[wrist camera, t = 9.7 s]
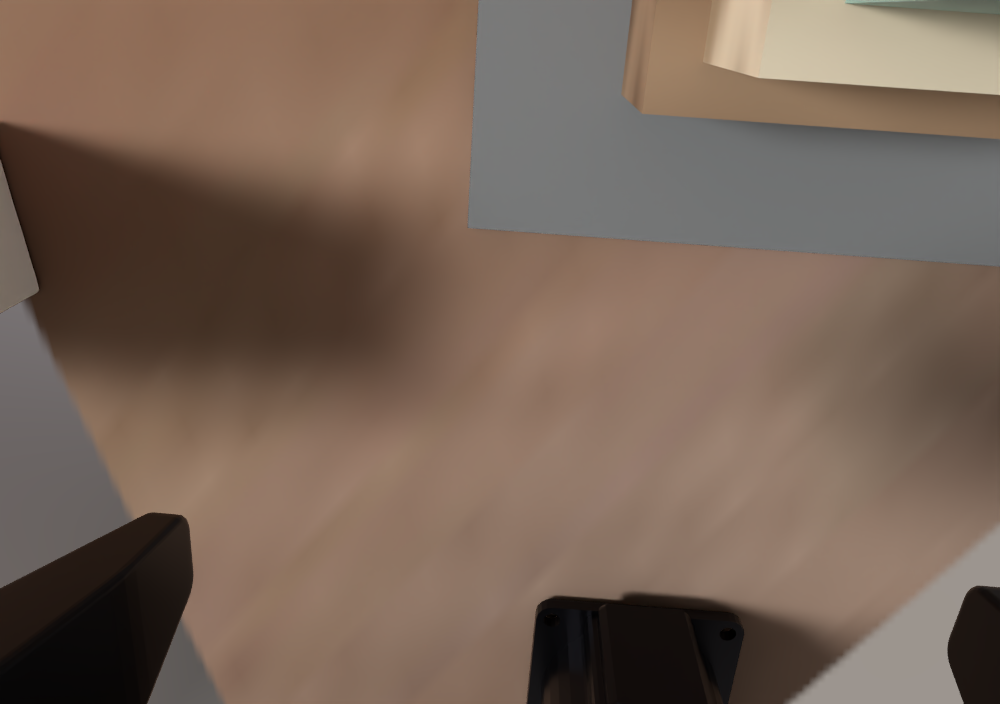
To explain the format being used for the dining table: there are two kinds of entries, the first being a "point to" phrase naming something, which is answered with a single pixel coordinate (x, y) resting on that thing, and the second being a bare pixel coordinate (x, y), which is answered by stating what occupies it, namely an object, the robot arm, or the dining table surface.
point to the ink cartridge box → (13, 254)
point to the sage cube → (938, 5)
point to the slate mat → (700, 158)
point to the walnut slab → (775, 86)
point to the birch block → (856, 44)
